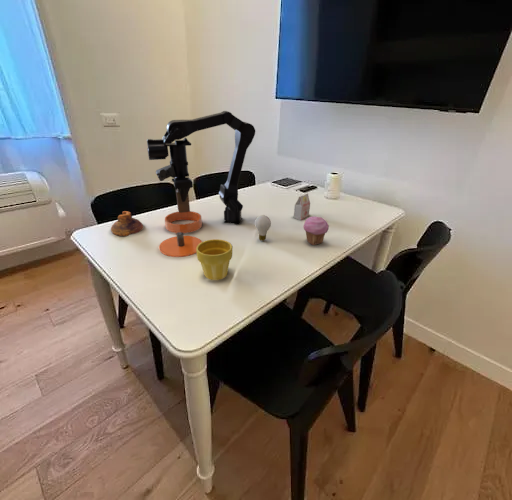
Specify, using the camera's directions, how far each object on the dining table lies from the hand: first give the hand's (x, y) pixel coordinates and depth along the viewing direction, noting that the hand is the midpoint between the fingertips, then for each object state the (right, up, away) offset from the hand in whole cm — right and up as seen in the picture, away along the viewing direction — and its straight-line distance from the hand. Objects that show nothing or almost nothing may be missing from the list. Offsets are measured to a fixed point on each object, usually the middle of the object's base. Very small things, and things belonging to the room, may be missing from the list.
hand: (182, 199), depth 116 cm
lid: (+2, -18, -10) cm, 21 cm away
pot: (-1, -10, +6) cm, 12 cm away
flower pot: (+16, -27, -24) cm, 40 cm away
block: (0, -4, +2) cm, 4 cm away
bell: (-22, -12, +2) cm, 25 cm away
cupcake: (+50, -17, -4) cm, 53 cm away
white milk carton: (+48, -5, +18) cm, 52 cm away
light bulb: (+31, -16, -3) cm, 35 cm away
